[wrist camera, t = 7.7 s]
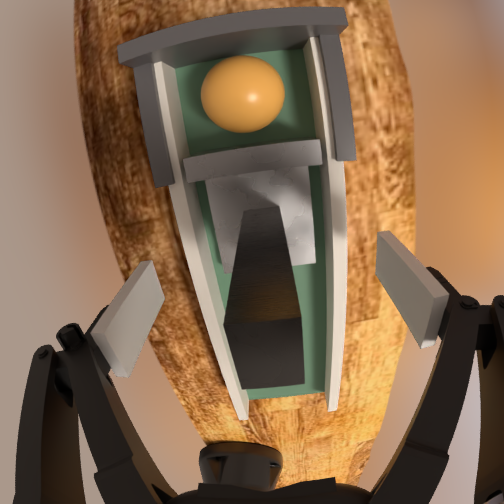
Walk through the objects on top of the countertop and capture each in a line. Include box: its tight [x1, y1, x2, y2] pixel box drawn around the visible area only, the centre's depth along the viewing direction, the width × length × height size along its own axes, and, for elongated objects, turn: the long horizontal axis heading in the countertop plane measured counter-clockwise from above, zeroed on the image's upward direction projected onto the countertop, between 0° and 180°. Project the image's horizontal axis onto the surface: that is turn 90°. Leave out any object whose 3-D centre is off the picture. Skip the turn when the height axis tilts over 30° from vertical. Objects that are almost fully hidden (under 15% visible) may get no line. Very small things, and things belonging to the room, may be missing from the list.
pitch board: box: [154, 37, 347, 420], centre depth 22 cm, size 36×11×4 cm, turn 9°
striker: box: [183, 136, 322, 390], centre depth 15 cm, size 9×8×13 cm
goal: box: [117, 7, 356, 188], centre depth 16 cm, size 9×12×7 cm
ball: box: [201, 55, 285, 133], centre depth 15 cm, size 5×5×5 cm
